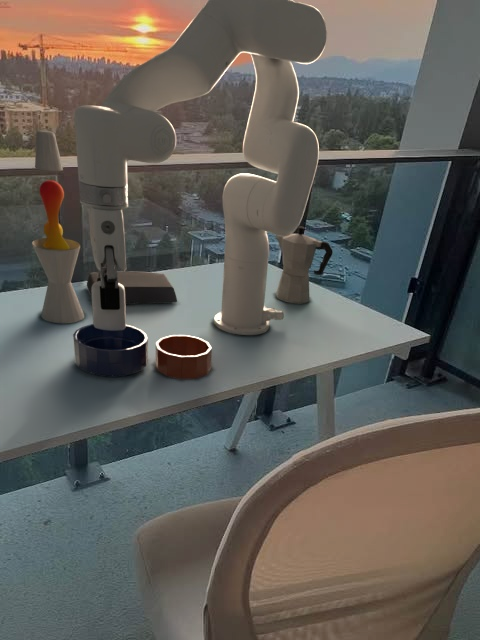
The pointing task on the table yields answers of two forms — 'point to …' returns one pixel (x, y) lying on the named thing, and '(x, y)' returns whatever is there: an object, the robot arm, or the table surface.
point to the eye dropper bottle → (108, 317)
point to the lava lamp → (55, 240)
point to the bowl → (110, 350)
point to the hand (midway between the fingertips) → (109, 303)
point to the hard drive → (141, 287)
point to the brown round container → (183, 356)
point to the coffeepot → (299, 265)
